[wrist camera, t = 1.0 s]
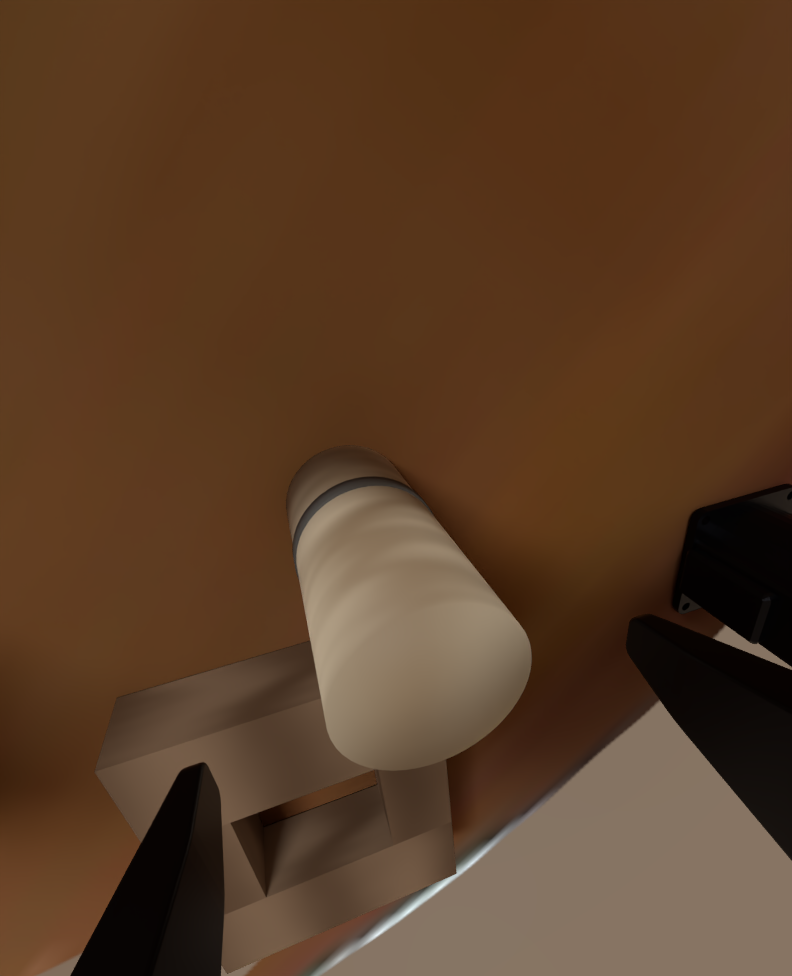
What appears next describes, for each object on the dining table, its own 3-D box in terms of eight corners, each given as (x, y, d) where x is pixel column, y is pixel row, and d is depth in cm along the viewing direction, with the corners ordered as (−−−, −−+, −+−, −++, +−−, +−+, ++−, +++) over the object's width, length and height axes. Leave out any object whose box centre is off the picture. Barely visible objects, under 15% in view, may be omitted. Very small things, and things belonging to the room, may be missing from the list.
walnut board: (412, 610, 20) (436, 660, 17) (436, 816, 27) (456, 873, 25) (116, 698, 17) (94, 772, 15) (229, 900, 25) (227, 973, 22)
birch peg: (397, 432, 16) (537, 574, 9) (409, 537, 18) (531, 729, 11) (272, 458, 15) (300, 643, 8) (298, 566, 17) (342, 799, 10)
